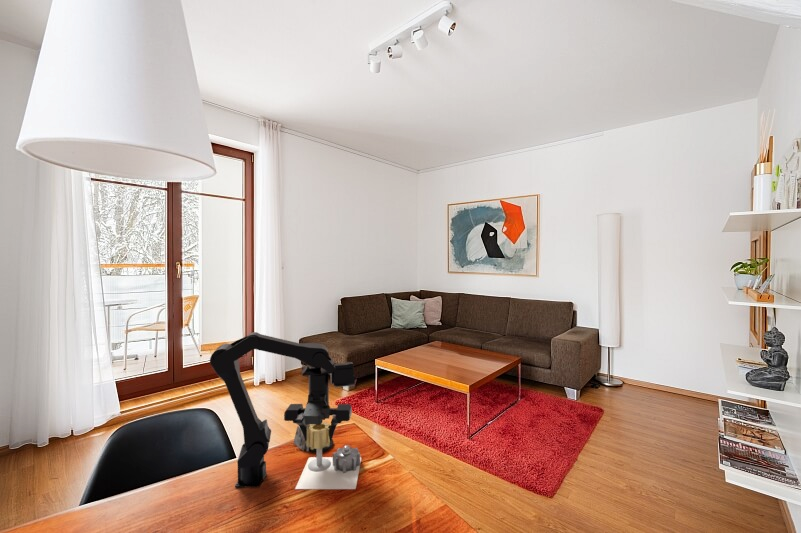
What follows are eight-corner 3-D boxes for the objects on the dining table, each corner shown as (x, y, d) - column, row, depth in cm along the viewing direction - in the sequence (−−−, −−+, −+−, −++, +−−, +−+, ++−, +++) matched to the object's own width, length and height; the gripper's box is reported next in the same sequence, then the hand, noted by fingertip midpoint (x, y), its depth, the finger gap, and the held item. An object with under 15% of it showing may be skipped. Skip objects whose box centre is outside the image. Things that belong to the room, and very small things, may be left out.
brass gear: (304, 449, 103) (304, 432, 103) (310, 437, 110) (310, 421, 110) (328, 449, 103) (328, 432, 103) (332, 437, 110) (332, 421, 110)
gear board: (295, 494, 96) (294, 466, 96) (309, 462, 111) (309, 437, 111) (355, 494, 96) (355, 466, 96) (361, 462, 111) (361, 437, 111)
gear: (330, 473, 103) (330, 453, 103) (335, 457, 111) (335, 439, 111) (358, 473, 103) (358, 453, 103) (361, 457, 111) (361, 439, 111)
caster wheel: (335, 458, 118) (307, 466, 111) (317, 438, 126) (291, 444, 119) (340, 439, 117) (312, 445, 110) (322, 420, 125) (296, 425, 118)
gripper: (277, 399, 98) (277, 456, 98) (346, 399, 98) (346, 456, 98) (289, 384, 109) (290, 435, 110) (352, 384, 109) (352, 435, 110)
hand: (318, 440), depth 107 cm, fingers closed on brass gear, 7 cm apart
